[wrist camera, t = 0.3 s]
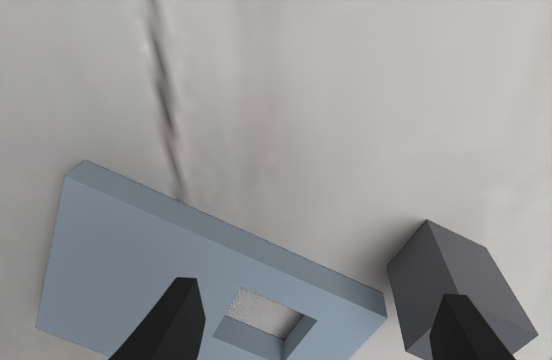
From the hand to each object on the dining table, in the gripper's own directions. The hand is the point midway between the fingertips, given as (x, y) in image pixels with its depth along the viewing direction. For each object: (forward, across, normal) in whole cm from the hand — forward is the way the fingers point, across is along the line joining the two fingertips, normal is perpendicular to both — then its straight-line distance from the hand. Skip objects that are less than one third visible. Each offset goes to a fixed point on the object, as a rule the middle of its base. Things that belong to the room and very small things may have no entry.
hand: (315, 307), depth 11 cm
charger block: (+9, -7, +7) cm, 14 cm away
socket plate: (+9, +8, +12) cm, 17 cm away
